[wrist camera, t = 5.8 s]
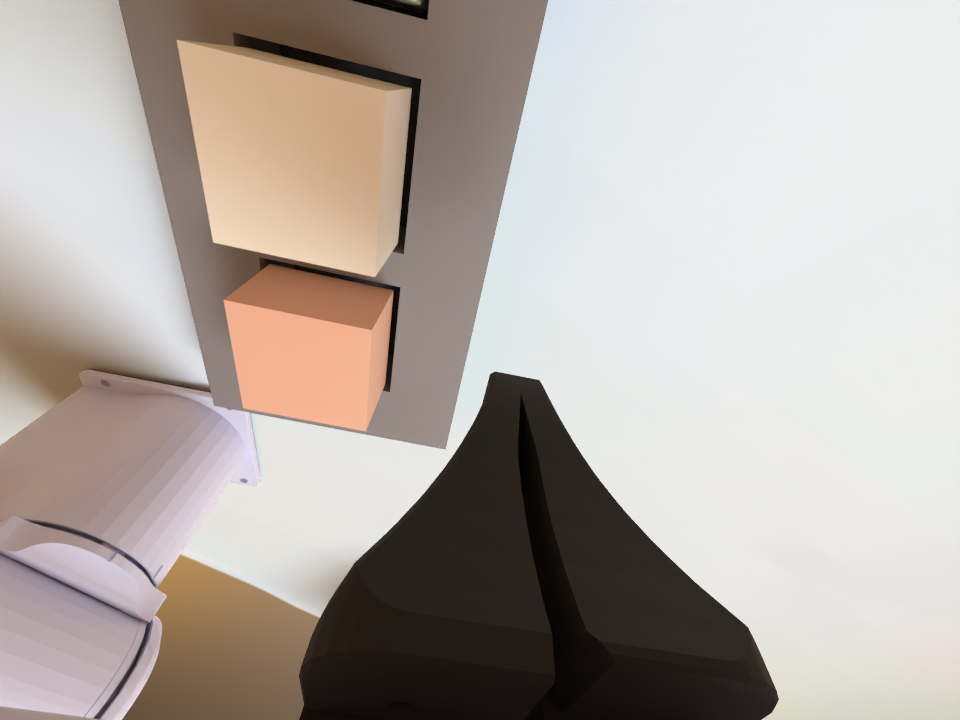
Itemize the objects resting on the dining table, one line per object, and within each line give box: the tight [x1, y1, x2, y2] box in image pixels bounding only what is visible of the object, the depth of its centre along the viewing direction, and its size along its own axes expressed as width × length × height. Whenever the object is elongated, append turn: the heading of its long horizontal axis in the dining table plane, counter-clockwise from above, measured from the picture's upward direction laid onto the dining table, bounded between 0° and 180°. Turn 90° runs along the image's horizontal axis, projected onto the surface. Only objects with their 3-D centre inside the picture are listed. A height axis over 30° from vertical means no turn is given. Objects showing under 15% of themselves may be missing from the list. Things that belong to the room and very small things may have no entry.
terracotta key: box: [224, 264, 394, 431], centre depth 17 cm, size 5×5×3 cm
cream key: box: [177, 40, 412, 277], centre depth 13 cm, size 5×5×3 cm
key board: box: [119, 0, 548, 449], centre depth 15 cm, size 12×26×3 cm, turn 168°
